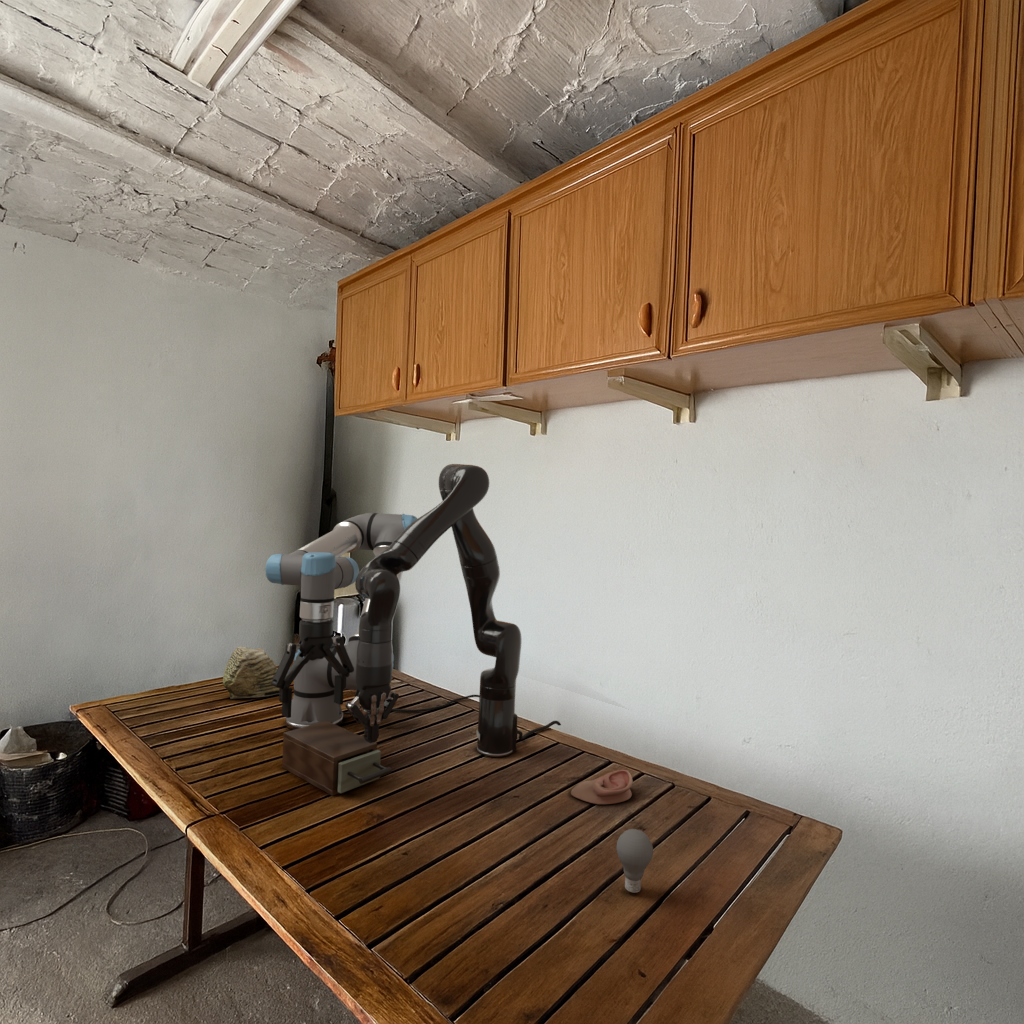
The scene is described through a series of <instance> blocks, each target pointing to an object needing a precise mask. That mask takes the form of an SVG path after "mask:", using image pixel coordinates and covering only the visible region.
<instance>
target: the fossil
mask: <svg viewBox="0 0 1024 1024" xmlns="http://www.w3.org/2000/svg"><path fill="white" fill-rule="evenodd" d="M277 669H278V667H277V665H276V663H275V662H274V660H273V659H272V658H271V657H270V656H269V655H268V654H267V653H266V652H265V650H264V649H263V648H260V647H258V648H251V647H247V646H246V647H245V646H238V647H237V648H236V649H235V650H233V651H232V653H231V656H230V657H229V659H228V660H227V663H226V666H225V668H224V671H223V675H222V676H223V677H222V685H223V687H224V688H225V690H226V691H228V693H229V698H230V699H250V698H264V697H271V696H275V695H279V688H277V687H275V686H273V685H271V682H272V680H273V677H274V675H275V673H276V671H277Z"/></svg>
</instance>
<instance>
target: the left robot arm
mask: <svg viewBox="0 0 1024 1024" xmlns="http://www.w3.org/2000/svg"><path fill="white" fill-rule="evenodd" d="M416 519H418V517H417V516H415V515H412V514H405V513H401V514H399V513H383V512H382V513H380V512H366V513H361V514H357V515H355V516H352V517H350V518H347V519H345V520H342V521H341V522H338V523H336V525H335V526H334V527H333V529H332V530H331V531H330V532H327V533H325V534H324V535H322V536H320V537H318V538H316V539H314V540H313V541H311V542H309V543H307V544H306V545H304V546H302V547H300V548H298V549H296V550H294V551H293V552H291V553H288V554H285V553H273V554H272V555H269V556H270V557H268V559H267V560H266V564H265V568H264V569H265V577H266V579H267V580H268V581H269V582H270V583H271V584H277V585H281V586H285V585H286V586H300V602H299V603H300V605H299V618H300V619H301V620H300V621H299V630H298V635H299V641H298V642H297V643H296V642H295V643H292V642H287V643H286V645H285V651H284V654H283V656H282V659H281V661H280V663H279V665H278V667H277V668H278V669H277V671H276V673H275V675H274V677H273V680H272V682H271V685H273V686H275V687H277V688H279V694H278V695H279V696H278V701H279V702H280V703H281V716H282V717H284V718H285V726H286V728H287V729H289V730H295V729H299V728H302V727H306V726H309V725H313V724H317V723H320V722H324V721H328V722H330V723H332V724H335V725H337V726H339V727H340V725H342V723H343V722H344V715H345V716H347V715H349V716H352V715H351V714H350V712H349V711H343V709H342V706H343V705H344V691H345V690H347V691H348V690H349V691H356V690H357V684H356V661H357V647H358V641H359V624H358V625H357V629H356V632H355V633H353V634H352V635H350V636H349V637H348V641H347V644H346V645H345V638H344V637H343V636H340V635H337V634H335V635H334V636H333V634H334V620H333V617H334V611H335V610H334V608H335V590H339V589H345V588H348V587H349V586H352V585H354V584H355V582H356V578H357V576H358V574H359V572H360V567H359V564H358V562H357V561H356V560H355V559H353V558H352V557H349V556H343V555H345V554H347V553H354V552H356V551H361V550H362V551H363V550H364V551H372V553H373V555H374V557H376V556H378V555H379V554H380V553H382V552H383V551H385V550H386V549H387V548H388V547H389V546H390V545H391V544H392V543H393V542H394V540H395V539H396V538H397V537H398V536H399V535H400V534H401V533H402V532H403V530H404V529H405V528H406V527H408V526H409V525H410V524H411V523H412V522H414V521H415V520H416ZM403 573H404V572H400V573H399V574H398V575H397V576H398V578H399V582H400V583H401V582H402V578H403ZM369 602H370V599H367V598H364V602H363V606H362V610H361V613H360V616H361V615H362V614H363V613H365V612H368V608H369ZM359 622H360V620H359V621H358V623H359ZM394 661H395V655H394V653H393V659H392V672H393V671H394V666H395V665H394V664H395V663H394ZM292 683H293V687H290V686H291V685H292ZM479 696H480V694H470V695H466V696H462V697H459V698H458V697H457V698H454V699H452V700H450V701H448V702H446V703H444V704H440V705H437V706H433V707H432V706H431V707H426V708H419V709H416V708H415V709H407V708H392V710H391V712H400V713H401V712H402V713H420V712H427V711H428V712H429V711H433V710H438V709H441V708H444V707H445V708H446V707H447V706H450V705H451V704H453V703H455V702H459V701H463V700H467V699H471V698H479ZM385 710H386V709H385ZM385 710H384V711H385Z"/></svg>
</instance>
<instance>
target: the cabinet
mask: <svg viewBox="0 0 1024 1024" xmlns="http://www.w3.org/2000/svg"><path fill="white" fill-rule="evenodd" d="M282 737H283V739H282V745H283V746H282V765H281V766H282V767H281V768H282V769H284V770H286V771H287V772H289V773H291V774H293V775H295V776H296V777H298V778H300V779H301V780H303V781H305V782H307V783H309V784H311V785H312V786H314V787H316V788H317V789H319V790H320V791H322V792H325V793H327V794H328V795H330V796H332V797H333V796H336V795H339V794H340V793H339V792H338V786H337V765H338V761H339V760H342V759H345V758H348V757H351V756H354V755H357V754H360V753H363V752H366V751H369V750H370V752H372V751H375V750H378V743H377V742H373V743H369V742H367V741H366V740H365V739H364V736H362V735H359V734H357V733H355V732H353V731H351V730H348V729H346V728H344V727H341V726H340V725H339V726H337V725H335V724H332V723H330V722H328V721H324V722H320V723H317V724H313V725H309V726H306V727H302V728H299V729H295V730H292V729H290V730H288V731H285V732H283V736H282Z"/></svg>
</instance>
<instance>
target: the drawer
mask: <svg viewBox="0 0 1024 1024" xmlns="http://www.w3.org/2000/svg"><path fill="white" fill-rule="evenodd" d="M381 754H382V751H381V750H380V749H377V750H375V751H372V752H370V750H369V751H366V752H363V753H360V754H357V755H354V756H351V757H348V758H345V759H342V760H339V761H338V765H337V786H338V792H339V793H338V794H344V793H346V792H349V791H351V790H353V789H356V788H358V787H362V786H364V785H367V784H369V783H372V782H374V781H376V780H379V779H381V777H383V776H386V775H388V774H391V773H392V768H391V767H390V766H387V767H386V766H384V765H383V764H381V756H382V755H381Z"/></svg>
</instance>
